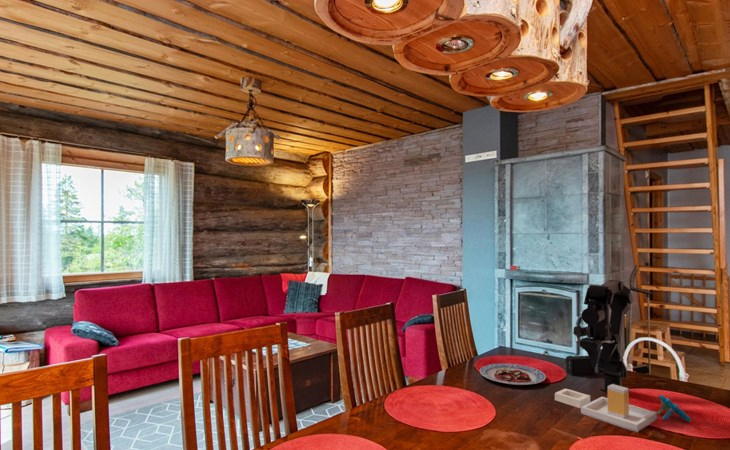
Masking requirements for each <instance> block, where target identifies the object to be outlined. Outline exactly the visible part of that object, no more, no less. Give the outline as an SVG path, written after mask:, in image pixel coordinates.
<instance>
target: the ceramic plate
mask: <svg viewBox="0 0 730 450" xmlns="http://www.w3.org/2000/svg"><path fill="white" fill-rule="evenodd" d="M497 371H499V372H497ZM479 373H480V374H481V376H483V377H485V378H486V379H488V380H491V381H493V382H496V383H497V382H498V383H501V384H505V385H506V384H507V385H513V386H523V385H524V386H526V385H536V384H539V383H542V382H544V381H545V380H546V379H547V376H546V374H545V373H544V372H542V371H541V370H539V369H537V368H534V367H532V366H527V365H523V364H517V363H491V364H487V365H484V366H482V367H481V368H480V369H479Z"/></svg>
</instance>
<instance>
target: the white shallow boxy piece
mask: <svg viewBox="0 0 730 450" xmlns="http://www.w3.org/2000/svg"><path fill="white" fill-rule="evenodd" d="M554 401H557V402H560V403H563V404H565V405H568V406H572V407H574V408H578V409H581V407H582V406H584V405H586V404H588V403H590V402H591V395H589V394H585V393H582V392H579V391H576V390H573V389H568V388H563V389H561V390H559V391H556V392H555V393H554Z"/></svg>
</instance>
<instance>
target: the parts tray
mask: <svg viewBox="0 0 730 450" xmlns="http://www.w3.org/2000/svg"><path fill="white" fill-rule="evenodd" d="M657 412H658V411H653V410H649V409H646V408H643V407H639V406H636V405H633V404H629V416H628V417H626V418H625V419H623V418H620V417H616V416H613V415H610V414H608V397H605V396H600V397H598V398H596V399H594V400H592V401H590V403H588V404H586V405H584V406H582V407H581V408H580V414H581V415H584V416H586V417H589V418H592V419H596V420H598V421H601V422H604V423H607V424H611V425H614V426H617V427H620V428H623V429H625V430H629V431H631V432H634V433H639V432H640V431H642V430H643V429H645V428H646V427H648V426H649V425H650V424H652V423H654V422H655V421H657V420H658V419H657V418H658V413H657Z"/></svg>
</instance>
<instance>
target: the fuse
mask: <svg viewBox="0 0 730 450" xmlns="http://www.w3.org/2000/svg"><path fill="white" fill-rule="evenodd" d="M629 396H630V395H629V388H628V387H625V386H622V385H621V386H618V385H614V384H611V385H609V386H608V392H607V398H608V414H610V415H613V416H616V417H620V418H623V419H625V418H626V417H628V416H629V405H630V403H629V402H630V401H629V400H630V399H629V398H630V397H629Z"/></svg>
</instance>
